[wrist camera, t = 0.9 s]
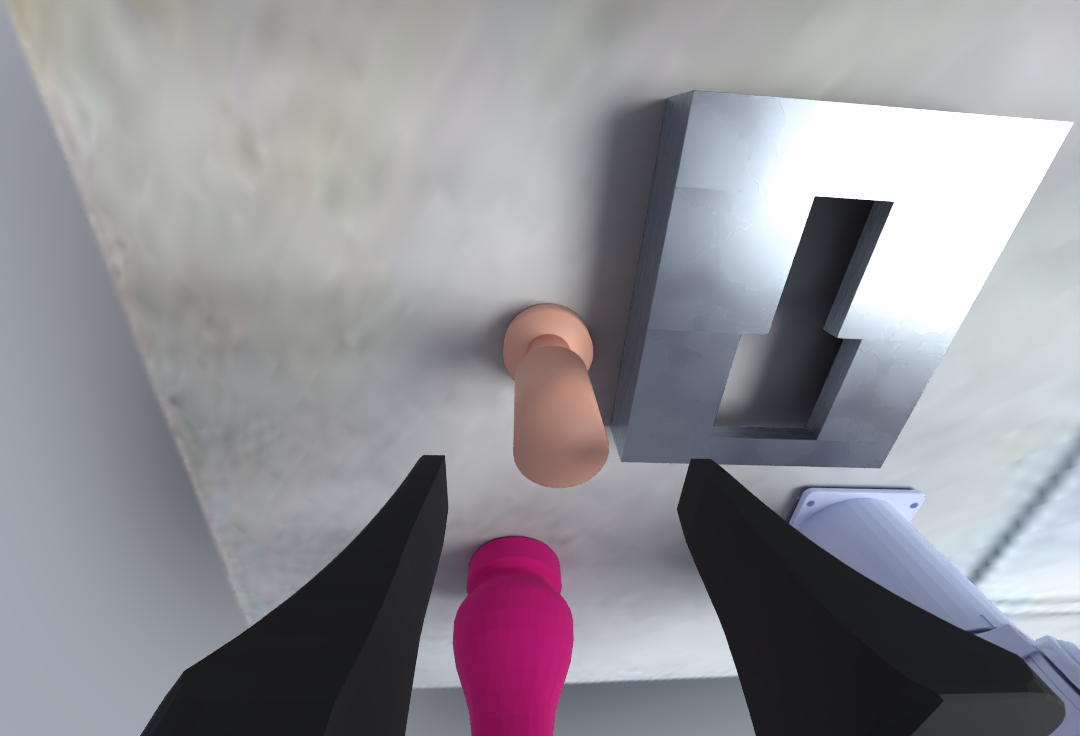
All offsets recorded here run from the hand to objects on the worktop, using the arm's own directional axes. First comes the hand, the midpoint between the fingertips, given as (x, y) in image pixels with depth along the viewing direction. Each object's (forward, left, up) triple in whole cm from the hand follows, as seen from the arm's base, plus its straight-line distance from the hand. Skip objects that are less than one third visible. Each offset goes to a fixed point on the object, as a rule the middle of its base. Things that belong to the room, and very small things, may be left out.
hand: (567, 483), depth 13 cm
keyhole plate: (+3, -11, -10) cm, 15 cm away
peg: (0, 0, -10) cm, 10 cm away
